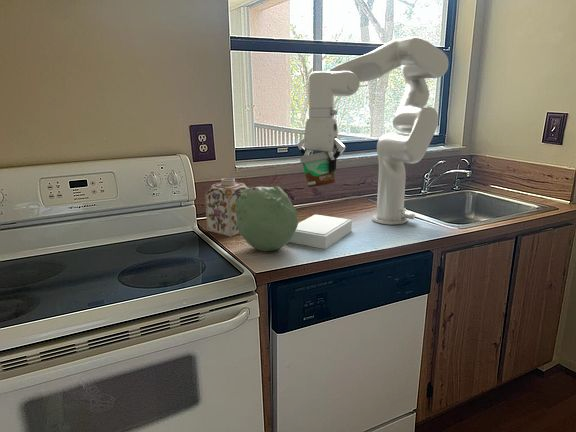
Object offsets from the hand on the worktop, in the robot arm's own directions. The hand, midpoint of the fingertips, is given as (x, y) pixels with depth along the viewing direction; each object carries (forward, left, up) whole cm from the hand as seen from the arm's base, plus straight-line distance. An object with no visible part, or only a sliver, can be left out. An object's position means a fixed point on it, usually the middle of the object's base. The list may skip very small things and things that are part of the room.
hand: (320, 170), depth 143 cm
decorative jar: (+30, +9, -22) cm, 38 cm away
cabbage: (+8, +19, -22) cm, 30 cm away
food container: (-2, 0, -4) cm, 5 cm away
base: (0, 0, -22) cm, 22 cm away
